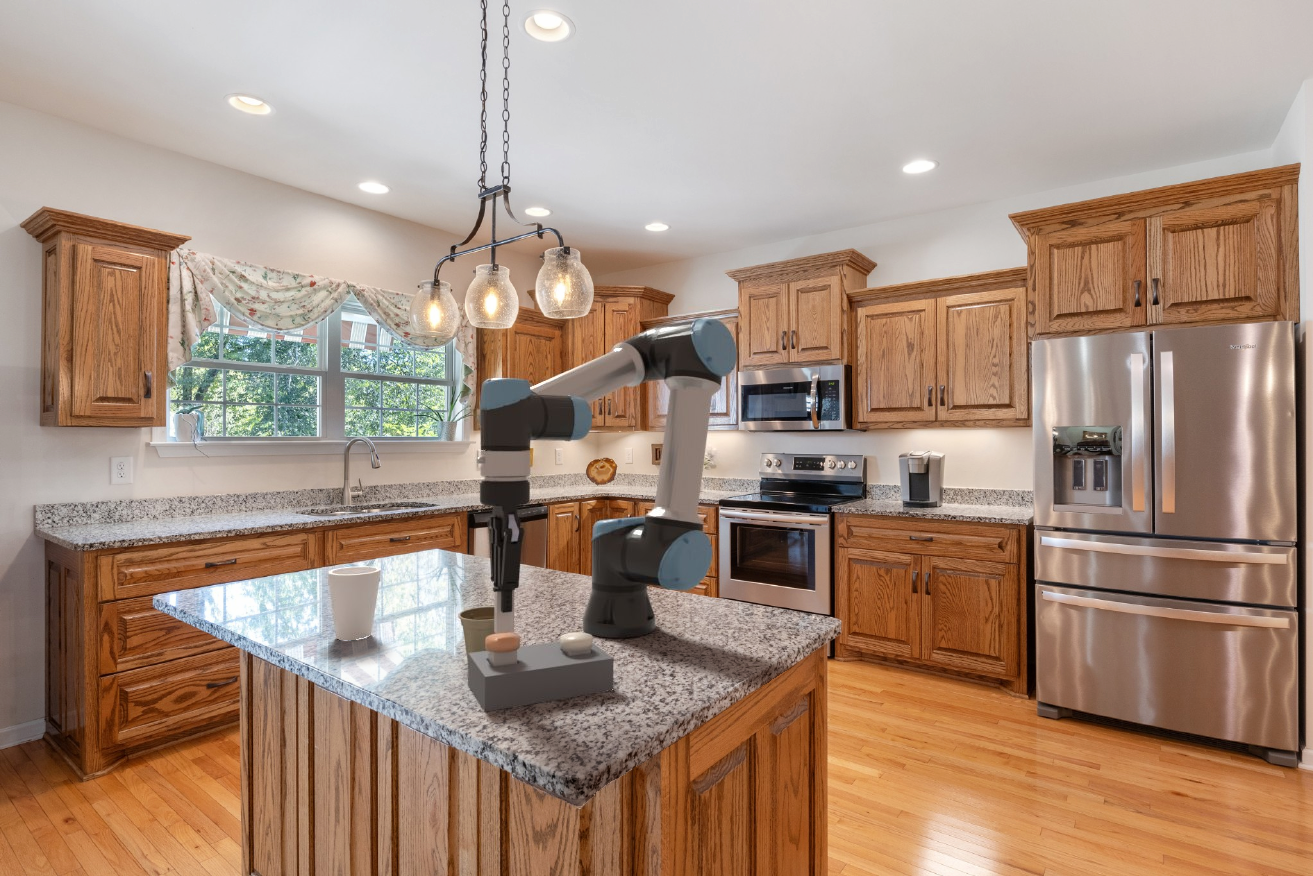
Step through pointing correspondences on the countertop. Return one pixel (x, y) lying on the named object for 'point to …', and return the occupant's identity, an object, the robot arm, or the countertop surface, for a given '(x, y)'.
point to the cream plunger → (576, 643)
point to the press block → (538, 676)
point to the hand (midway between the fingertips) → (504, 631)
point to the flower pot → (477, 627)
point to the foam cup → (354, 600)
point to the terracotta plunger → (502, 648)
